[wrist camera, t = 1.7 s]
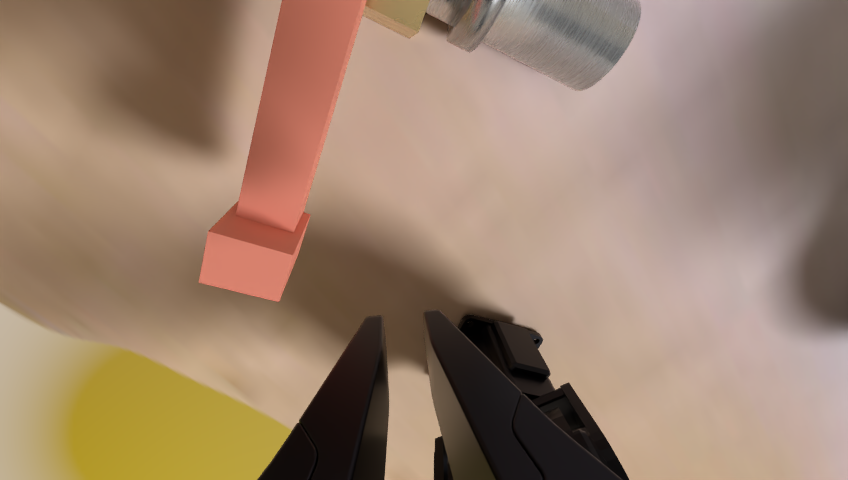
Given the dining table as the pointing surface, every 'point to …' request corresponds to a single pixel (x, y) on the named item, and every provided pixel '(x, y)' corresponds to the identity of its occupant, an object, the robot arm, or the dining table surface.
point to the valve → (528, 31)
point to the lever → (284, 149)
